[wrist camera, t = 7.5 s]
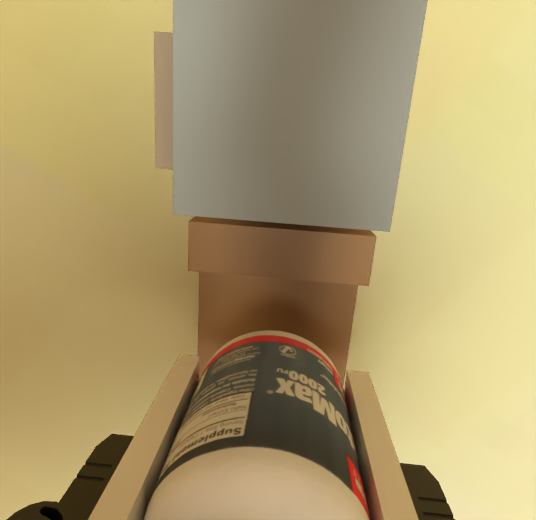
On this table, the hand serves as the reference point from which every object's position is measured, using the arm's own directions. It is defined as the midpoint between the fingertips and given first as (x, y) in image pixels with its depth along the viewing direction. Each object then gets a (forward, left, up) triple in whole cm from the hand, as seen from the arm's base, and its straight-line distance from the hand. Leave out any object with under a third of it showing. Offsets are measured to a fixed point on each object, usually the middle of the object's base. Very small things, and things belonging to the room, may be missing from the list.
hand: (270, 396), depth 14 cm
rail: (0, 0, -6) cm, 6 cm away
